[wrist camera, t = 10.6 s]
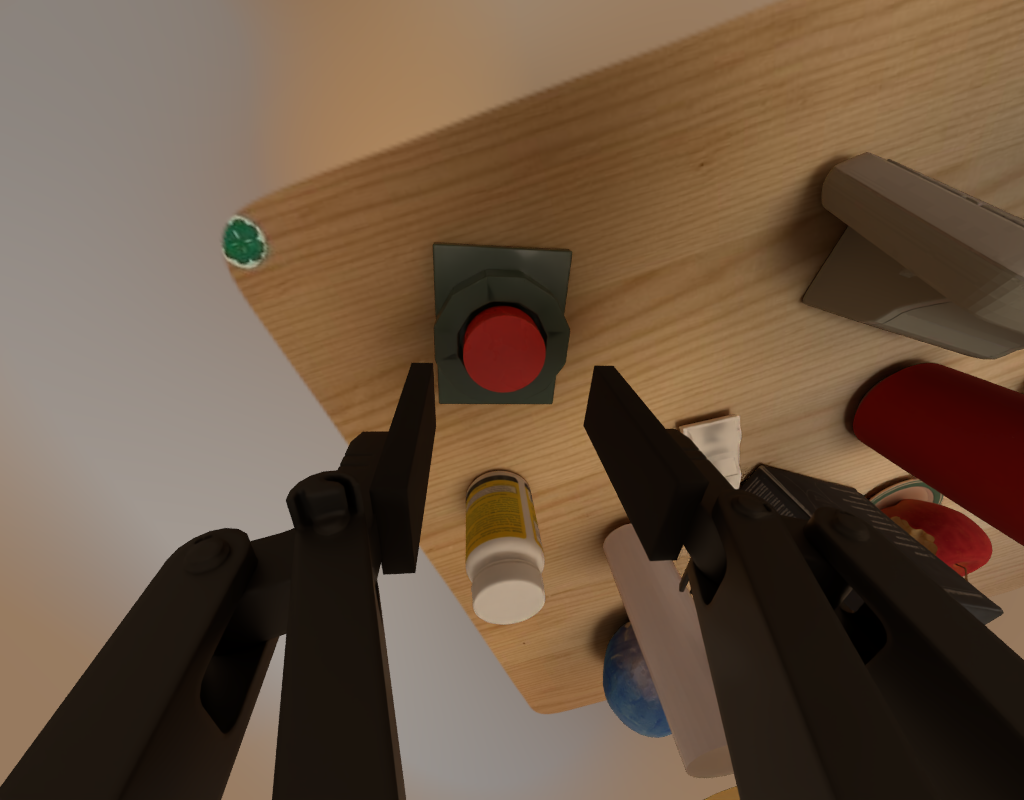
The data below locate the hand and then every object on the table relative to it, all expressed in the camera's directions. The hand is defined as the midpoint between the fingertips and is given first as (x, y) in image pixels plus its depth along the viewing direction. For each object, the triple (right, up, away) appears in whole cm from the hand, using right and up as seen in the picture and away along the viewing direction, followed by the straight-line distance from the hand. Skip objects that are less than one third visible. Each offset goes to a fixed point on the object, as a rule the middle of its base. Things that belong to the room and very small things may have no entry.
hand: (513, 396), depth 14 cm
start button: (-1, +3, +5) cm, 6 cm away
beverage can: (+27, 0, +13) cm, 30 cm away
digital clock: (+22, +9, +7) cm, 25 cm away
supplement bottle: (-1, -7, +13) cm, 15 cm away
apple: (+34, -10, +19) cm, 40 cm away
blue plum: (+13, -23, +24) cm, 35 cm away
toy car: (+14, -4, +13) cm, 20 cm away
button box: (-1, +4, +7) cm, 8 cm away
